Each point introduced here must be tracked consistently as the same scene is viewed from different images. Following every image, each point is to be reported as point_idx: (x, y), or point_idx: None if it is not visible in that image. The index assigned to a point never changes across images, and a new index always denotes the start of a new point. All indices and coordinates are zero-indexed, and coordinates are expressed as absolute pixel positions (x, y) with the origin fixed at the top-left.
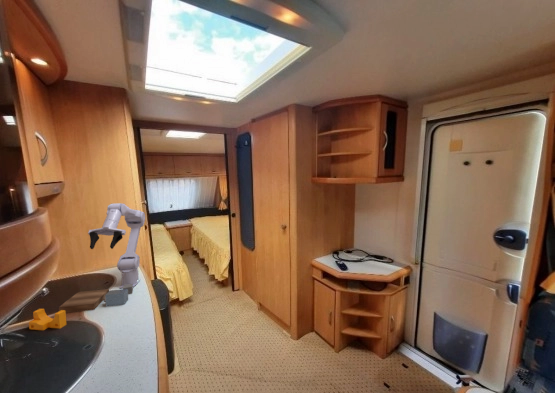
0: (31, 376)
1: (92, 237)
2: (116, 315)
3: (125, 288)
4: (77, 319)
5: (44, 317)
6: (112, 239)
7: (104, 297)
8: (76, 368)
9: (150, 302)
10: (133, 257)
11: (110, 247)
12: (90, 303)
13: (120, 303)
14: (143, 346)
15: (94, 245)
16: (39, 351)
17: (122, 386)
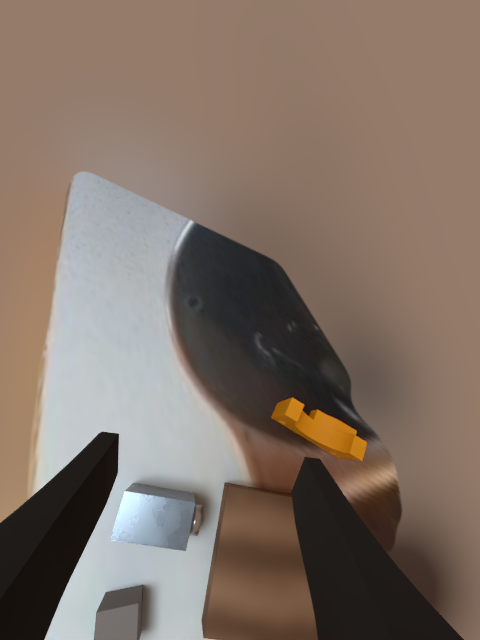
0: (256, 268)
1: (395, 598)
2: (152, 411)
3: (127, 604)
4: (253, 434)
5: (332, 439)
6: (51, 519)
7: (200, 513)
8: (196, 254)
9: (40, 461)
10: None
11: (117, 449)
12: (240, 492)
13: (145, 486)
14: (87, 253)
15: (304, 548)
16: (277, 328)
17: (123, 190)
